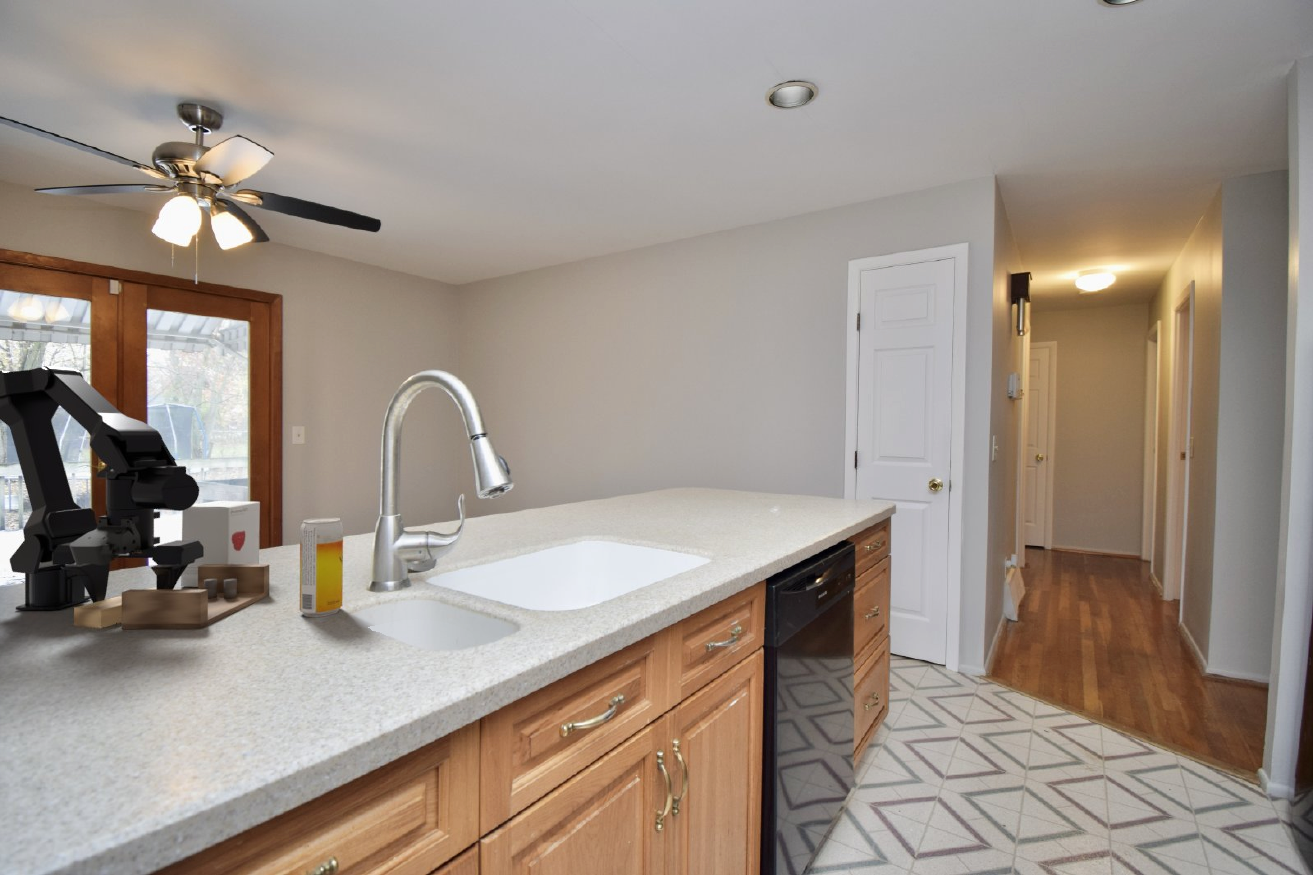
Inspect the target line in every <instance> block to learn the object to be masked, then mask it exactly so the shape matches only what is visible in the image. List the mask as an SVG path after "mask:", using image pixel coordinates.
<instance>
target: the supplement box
mask: <svg viewBox="0 0 1313 875" xmlns="http://www.w3.org/2000/svg"><path fill="white" fill-rule="evenodd" d="M260 506H261V502H260V501H250V500H249V501H243V500H241V501H239V500H238V501H237V500H215V501H208V502H202V503H194V504H193V505H192V506H191V507H190V508H188V509H186V510H183V511H181V512H182V514H181V516H182V518H181V522H182V524H181V525H182V526H181V534H182V535H181V540H199V542H200V543H201V544H202V545H203V547H204V557H202V558H199V559H195V562H194V563H191V564H188V566H187V567H186V569H185V570H184V572H183V573H182V575H181V576H180V586H181V587H187V588H189V587H191V588H198V566H201V565H204V564H260V523H261V522H260V520H261V519H260V516H261V515H260V514H261V513H260V512H261V509H260V508H261V507H260Z"/></svg>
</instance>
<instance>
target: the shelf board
mask: <svg viewBox="0 0 1313 875" xmlns="http://www.w3.org/2000/svg"><path fill="white" fill-rule="evenodd" d="M149 589H156V586H154V587H151V588H149ZM173 590H181V589H178V588H174V589H173ZM116 623H117V624H120V623H121V624H122V595H119V596H115V597H111V598H107V599H105V600H103V601H99V602H95V603H93V602H91V603H88V604H83V605H80V606H76V607H75V606H74V607H73V625H74V626H75V625H76V627H84V628H86V627H87V628H94V627H95V629H103V628H102V627H104V628H106V627H110V626H114V625H117V624H116ZM113 624H114V625H113ZM97 627H98V628H97Z"/></svg>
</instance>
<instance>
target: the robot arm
mask: <svg viewBox="0 0 1313 875" xmlns="http://www.w3.org/2000/svg"><path fill="white" fill-rule="evenodd" d="M59 407H61V408H62V409H63V410H65V412H66V413H67V414H68V415H69V416H70V417H71V418H73V420H75V421H76V422H77V423H78V424H79V425H80V426H81V427H82V428H83V429H85V431H87V433H88V434H89V435H90V438H89V447H90V448H91V449H92V451H93V452H94V453H95V455H96V456H97V458H99V460H100V461H101V463H103V464H105V465H106V466H105V467H104V468H102V469H101V470H100V471H98V472H97V473H96V475H95V476H96V478H97V479H105V515H101V516H99V517H98V519H97V520H96V513H95V511H94V510H93V508H91V507H86V508H82V507H81V506H80V505H79V504H78V503H77V502H75V500H74V498H73V494H72V490H71V486H70V482H69V479H68V475H67V472H66V469H65V465H64V461H63V457H62V455H61V450H60V446H59V444H58V440H57V437H56V432H55V429H54V425H53V418H54V416H55V414H56V412H57V411H58V409H59ZM0 421H1V422H3V423H4V424H6V426H8V428H9V430H10V433H11V436H12V437H11V438H12V441H13V445H14V448H15V452H16V456H17V458H18V462H19V466H20V470H21V474H22V477H23V480H24V481H23V482H24V483H25V488H26V491H27V496H28V499H29V502H30V506H31V514H30V516H29V518H28V519H27V521H26V522H25V525H24V527H23V531H22V532H23V537H24V538H23V539H24V540H23V542H22V543H21V544H20V545H19V547H18V548H17V549H16V551H15V552H14V553H13V554H12V555H11V557H10V558H9V564H10V568H11V571H12V573H19V574H24V590H25V591H24V603H23V604H20V605H17V606H15V610H16V611H56V610H62V609H64V608H69V607H70V606H74V605H76V604H79V603H80V604H81V603H83V602H86V601H88V600H91V603H95V602H99V601H103V600H106V596H107V590H108V589H107V588H108V584H109V578H110V577H109V576H110V570H111V564H112V562H113V561H115V559H118V558H119V559H120V558H121V559H152V561H153V562H154V563H155V564H156V565H153V566H151V567H150V569H151V571H152V572H154V574H155V576H156V583H155V584H156V586H155V587H156V589H170V590H173V589H175V587H176V585H177V583H178V581H179V579H181V575H182V573H183V572H184V570H185V569H186V567H187V566H188V564H191V563H194V562H195V559H199V558H202V557H204V547H203V545H202V544H201V543H200V542H199V540H182V539H181V540H180V539H179V540H173V541H170V542H166V543H161V537H160V536H155V520H156V519H160V518H161V511H172V512H173V511H176V512H177V511H178V512H182V511H183V510H186V509H188V508H190V507H191V506H192V505H194V504H196V502H197V500H198V498H199V495H200V486H198V482H197V481H196V479H195V478H194V477H193V476H191V475H190V474H188V473H187V467H186V465H178V464H177V462H176V459H175V457H174V456H173V455H172V454H171V452H170V450H169V448H168V446H167V444H166V443H165V442H164V438H163V437H162V434H161V433H160V432H159V431H158V430H157V429H156V428H154V427H152V426H151V425H149V424H147V423H145V422H143V421H141V420H138V419H135V418H132V417H130V416H127V415H125V414H123V413H122V412H120V411H119V410H118V409H117V408H116V407H115V406H114V405H113V404H111V403H110V401H108V400H107V399H106V398H105V396H103V395H101V393H99V391H97V389H95V388H94V387H93V386H92V385H91V384H89V383H88V381H87V380H85V379H84V376H83V374H82V372H81V371H79V370H77V369H75V368H69V367H59V366H47V365H46V366H42V367H36V368H32V369H23V370H13V371H11V370H9V371H8V370H0ZM155 510H157V511H155ZM158 510H159V511H158ZM160 543H161V544H160ZM158 544H159V545H158ZM86 592H87V594H88V595H86Z"/></svg>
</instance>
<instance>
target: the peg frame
mask: <svg viewBox="0 0 1313 875" xmlns="http://www.w3.org/2000/svg"><path fill="white" fill-rule="evenodd" d="M121 596H122V622H121V630H200V629H201V630H202V629H203V628H205V627H208V626H209V625H211V624H213V623H216V622H217V621H219V620H221V619H223V618H225V617H228V616H229V615H231V614H233V613H235V612H238V611H240V610H242V609H244V608H246V607H248V606H249V605H252V604H254V603H256V602H257V601H259V600H262V599H264V598H266V597H267V596H270V564H260V563H259V564H204V565H201V566H198V587H197V589H180V590H170V589H150V588H146V589H145V588H144V589H142V588H139V589H128V590H127V589H126V591H122V592H121Z"/></svg>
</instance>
